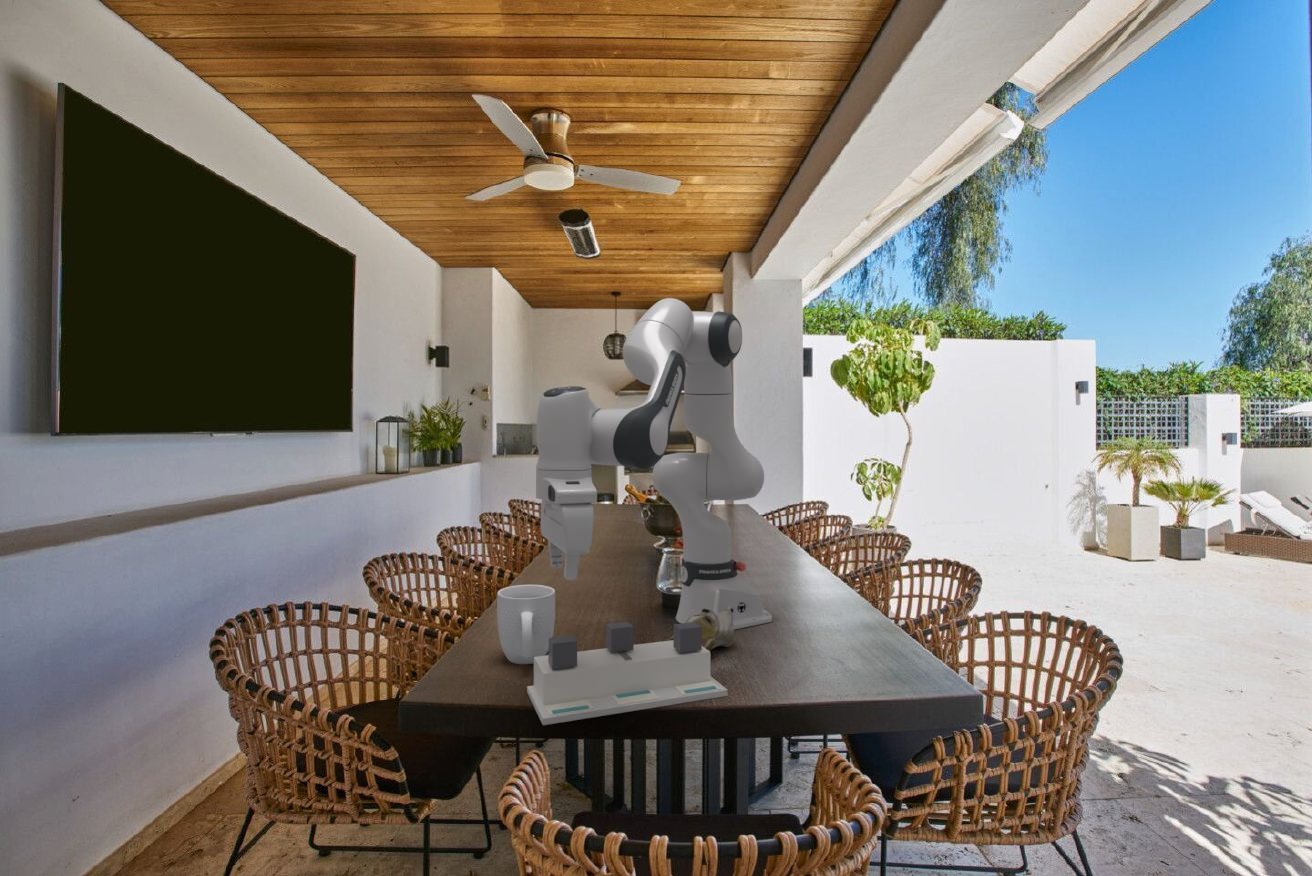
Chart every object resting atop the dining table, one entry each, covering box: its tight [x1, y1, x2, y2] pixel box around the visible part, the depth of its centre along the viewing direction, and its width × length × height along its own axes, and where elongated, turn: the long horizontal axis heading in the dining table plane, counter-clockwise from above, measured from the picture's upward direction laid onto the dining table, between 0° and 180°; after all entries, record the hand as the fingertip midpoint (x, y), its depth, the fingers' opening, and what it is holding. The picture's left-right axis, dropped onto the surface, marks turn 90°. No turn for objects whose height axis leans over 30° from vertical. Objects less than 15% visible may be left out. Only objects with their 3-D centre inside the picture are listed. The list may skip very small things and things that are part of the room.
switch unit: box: [526, 640, 729, 726], centre depth 109 cm, size 31×13×6 cm, turn 111°
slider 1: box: [547, 634, 578, 669], centre depth 105 cm, size 4×3×4 cm
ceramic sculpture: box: [660, 609, 735, 652], centre depth 131 cm, size 11×9×15 cm
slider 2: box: [673, 622, 702, 653], centre depth 113 cm, size 4×3×4 cm
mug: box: [496, 584, 556, 665], centre depth 123 cm, size 15×11×13 cm
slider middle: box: [605, 621, 635, 652], centre depth 112 cm, size 4×3×4 cm
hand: (563, 573), depth 104 cm, fingers open, 8 cm apart
